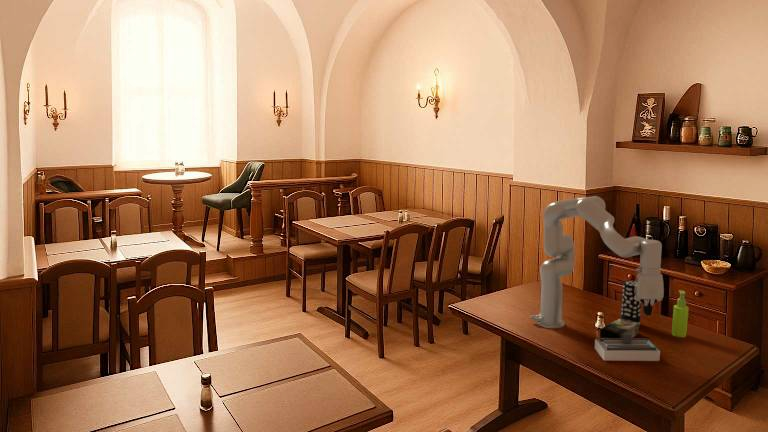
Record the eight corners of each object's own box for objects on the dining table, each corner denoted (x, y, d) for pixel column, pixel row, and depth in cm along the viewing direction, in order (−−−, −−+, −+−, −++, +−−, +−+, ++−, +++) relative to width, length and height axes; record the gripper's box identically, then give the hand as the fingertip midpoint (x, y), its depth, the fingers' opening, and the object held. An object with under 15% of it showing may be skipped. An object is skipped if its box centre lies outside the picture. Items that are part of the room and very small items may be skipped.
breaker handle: (624, 346, 237) (625, 334, 236) (622, 343, 239) (623, 332, 239) (630, 346, 237) (631, 334, 236) (628, 343, 239) (629, 332, 238)
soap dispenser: (684, 332, 261) (688, 290, 258) (687, 338, 255) (691, 294, 251) (670, 330, 263) (673, 288, 260) (672, 336, 257) (676, 293, 253)
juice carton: (618, 328, 268) (619, 315, 267) (640, 334, 261) (641, 321, 260) (598, 341, 254) (599, 327, 253) (620, 347, 247) (621, 334, 246)
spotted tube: (642, 327, 267) (645, 286, 264) (624, 327, 268) (627, 286, 264) (635, 321, 276) (638, 280, 272) (617, 321, 276) (620, 281, 272)
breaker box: (603, 360, 234) (604, 348, 233) (594, 348, 245) (595, 336, 244) (659, 360, 233) (660, 348, 232) (647, 348, 244) (648, 337, 243)
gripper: (634, 273, 229) (632, 317, 232) (673, 273, 228) (670, 317, 231) (627, 268, 236) (625, 311, 239) (664, 268, 235) (662, 311, 238)
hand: (647, 314), depth 235 cm, fingers closed
